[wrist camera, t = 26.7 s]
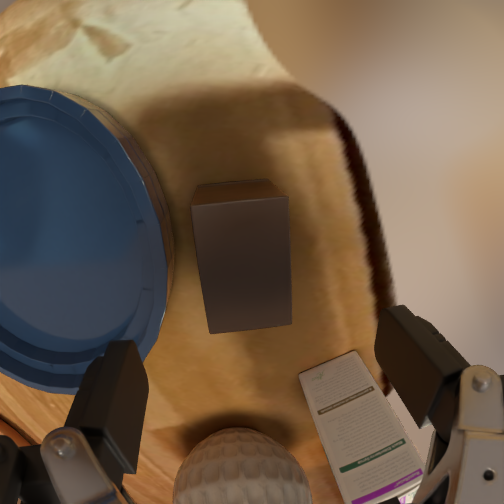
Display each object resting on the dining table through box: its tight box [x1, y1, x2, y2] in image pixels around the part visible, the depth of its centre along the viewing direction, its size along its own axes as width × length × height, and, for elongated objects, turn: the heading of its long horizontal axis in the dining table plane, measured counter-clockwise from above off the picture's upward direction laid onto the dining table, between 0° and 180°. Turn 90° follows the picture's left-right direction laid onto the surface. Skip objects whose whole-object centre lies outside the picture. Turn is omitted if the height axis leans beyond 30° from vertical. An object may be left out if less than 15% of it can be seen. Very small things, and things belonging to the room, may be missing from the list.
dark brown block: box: [190, 179, 292, 334], centre depth 18 cm, size 7×4×6 cm, turn 4°
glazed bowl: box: [0, 85, 175, 395], centre depth 17 cm, size 23×23×4 cm
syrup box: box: [299, 351, 426, 504], centre depth 20 cm, size 6×6×14 cm
